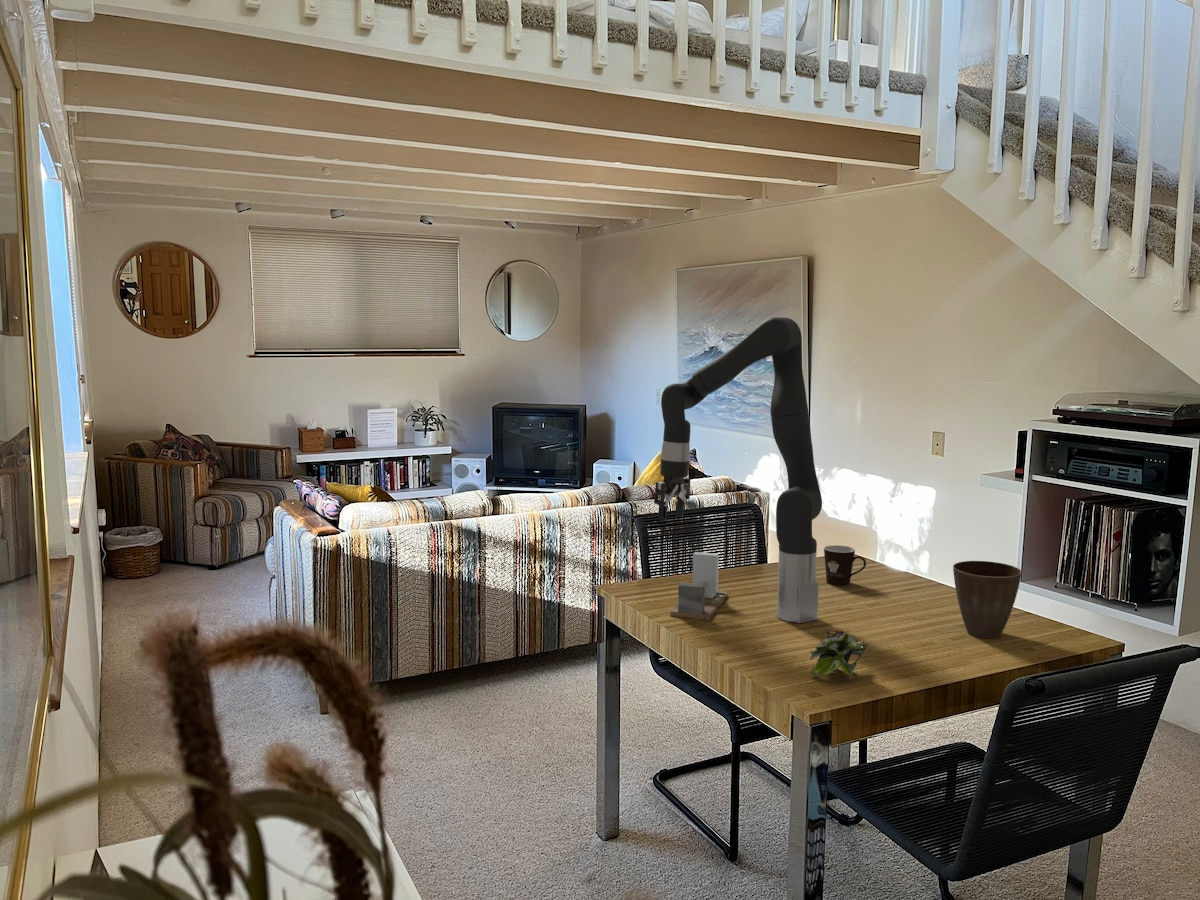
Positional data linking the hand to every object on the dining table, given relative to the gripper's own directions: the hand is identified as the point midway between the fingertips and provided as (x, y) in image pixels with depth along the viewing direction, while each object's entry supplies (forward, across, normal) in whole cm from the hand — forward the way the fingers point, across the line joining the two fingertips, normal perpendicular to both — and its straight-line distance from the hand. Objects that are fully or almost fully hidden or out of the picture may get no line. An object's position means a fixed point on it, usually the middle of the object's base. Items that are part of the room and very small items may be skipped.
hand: (670, 517), depth 245 cm
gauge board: (+21, -2, -12) cm, 24 cm away
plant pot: (+18, +19, -78) cm, 82 cm away
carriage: (+20, +1, -12) cm, 23 cm away
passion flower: (+20, -27, -60) cm, 69 cm away
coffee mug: (+19, +39, -34) cm, 55 cm away
